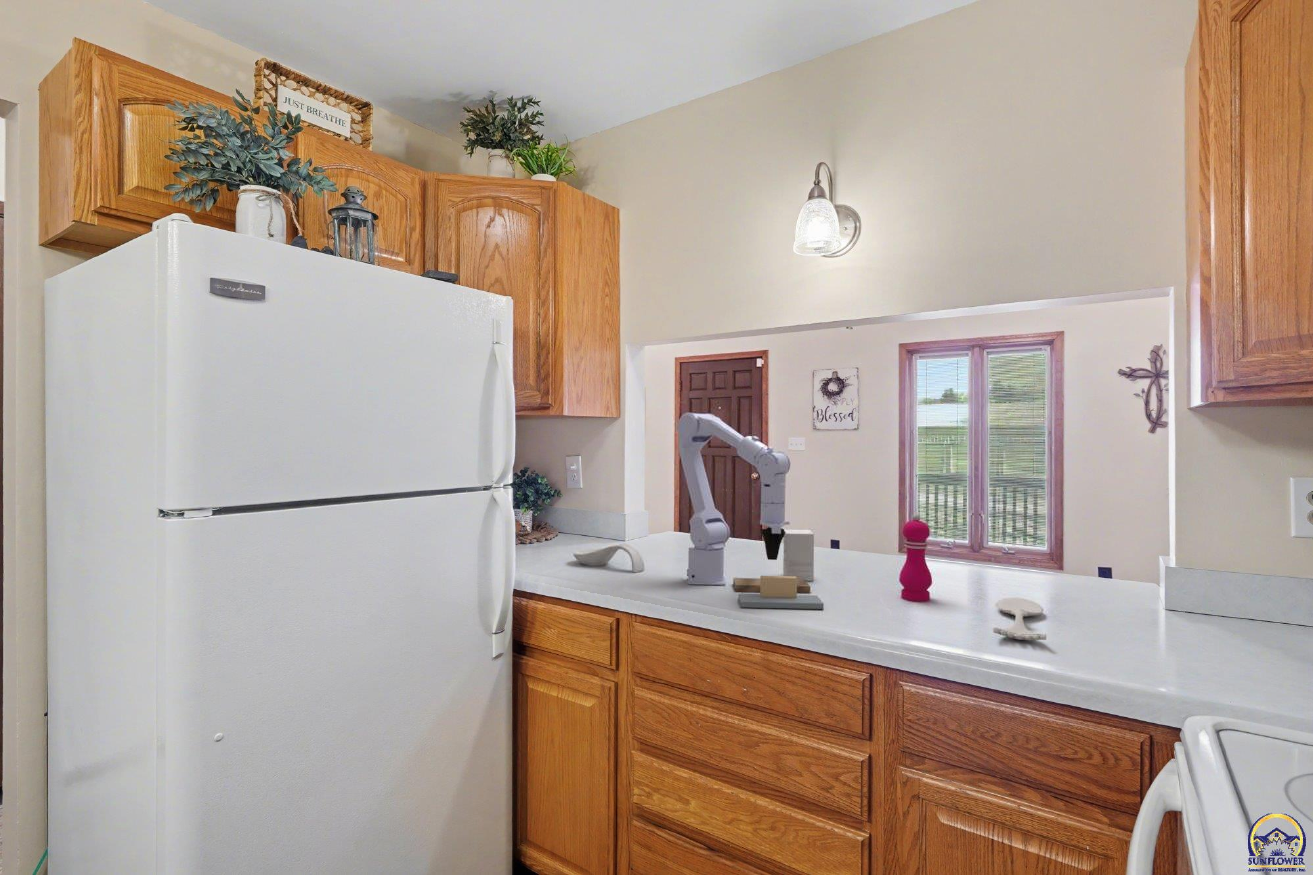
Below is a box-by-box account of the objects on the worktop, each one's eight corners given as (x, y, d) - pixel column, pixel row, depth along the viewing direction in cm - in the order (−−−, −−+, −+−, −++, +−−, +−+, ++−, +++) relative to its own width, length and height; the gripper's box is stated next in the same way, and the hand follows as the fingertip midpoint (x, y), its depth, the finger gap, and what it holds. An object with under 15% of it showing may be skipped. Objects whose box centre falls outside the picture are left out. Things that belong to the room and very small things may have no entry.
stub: (740, 607, 144) (741, 581, 144) (738, 599, 151) (738, 574, 151) (823, 608, 143) (823, 583, 143) (816, 600, 150) (817, 576, 150)
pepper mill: (897, 599, 153) (897, 514, 153) (901, 593, 159) (902, 511, 159) (930, 603, 149) (931, 516, 149) (933, 597, 156) (934, 513, 156)
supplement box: (810, 575, 178) (810, 529, 178) (813, 581, 171) (814, 533, 171) (782, 574, 179) (783, 528, 179) (785, 580, 172) (785, 532, 172)
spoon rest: (565, 564, 191) (565, 540, 191) (593, 559, 200) (593, 535, 200) (626, 576, 176) (626, 549, 176) (653, 569, 186) (653, 544, 186)
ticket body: (735, 591, 159) (735, 584, 159) (733, 584, 167) (733, 577, 167) (810, 593, 158) (810, 586, 158) (804, 585, 166) (804, 578, 166)
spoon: (991, 645, 121) (991, 626, 121) (996, 606, 149) (996, 591, 149) (1048, 653, 117) (1048, 633, 117) (1042, 611, 145) (1042, 596, 144)
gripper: (794, 506, 149) (793, 565, 149) (785, 499, 163) (784, 554, 164) (763, 505, 149) (762, 564, 149) (757, 499, 164) (756, 553, 164)
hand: (772, 559), depth 157 cm, fingers closed
